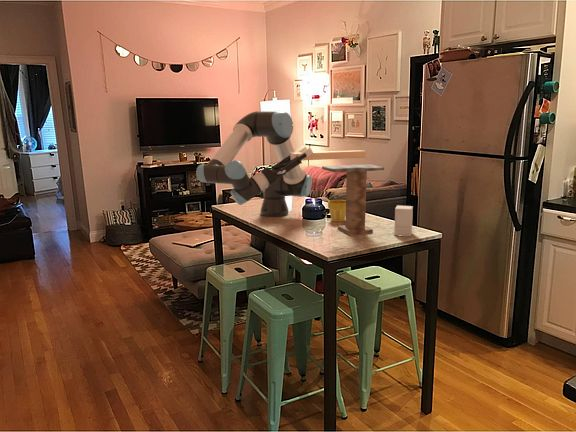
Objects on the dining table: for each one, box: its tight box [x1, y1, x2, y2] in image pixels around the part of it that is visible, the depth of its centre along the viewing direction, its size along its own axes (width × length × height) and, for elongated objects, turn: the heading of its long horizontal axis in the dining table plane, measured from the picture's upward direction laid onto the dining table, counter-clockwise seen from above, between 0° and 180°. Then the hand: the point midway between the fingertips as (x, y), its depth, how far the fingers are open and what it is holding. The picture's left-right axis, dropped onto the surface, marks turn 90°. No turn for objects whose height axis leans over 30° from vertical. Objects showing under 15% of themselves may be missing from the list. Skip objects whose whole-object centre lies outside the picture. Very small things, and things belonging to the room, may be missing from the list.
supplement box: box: [393, 204, 414, 237], centre depth 217 cm, size 7×7×13 cm
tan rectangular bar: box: [291, 149, 367, 161], centre depth 212 cm, size 34×5×3 cm, turn 109°
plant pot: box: [327, 199, 346, 223], centre depth 245 cm, size 10×10×10 cm
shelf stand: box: [321, 163, 385, 236], centre depth 221 cm, size 24×14×30 cm, turn 109°
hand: (309, 149), depth 208 cm, fingers closed on tan rectangular bar, 4 cm apart
